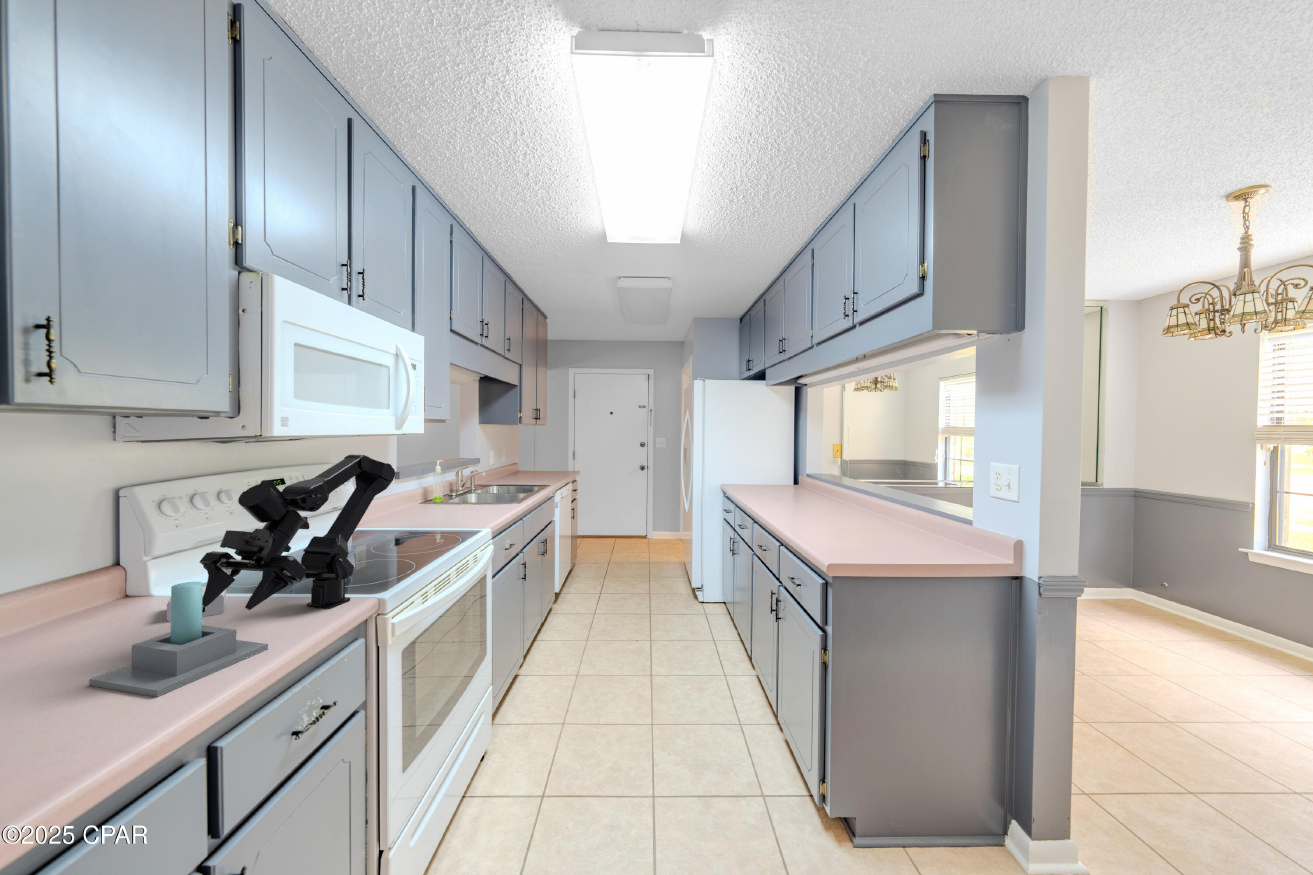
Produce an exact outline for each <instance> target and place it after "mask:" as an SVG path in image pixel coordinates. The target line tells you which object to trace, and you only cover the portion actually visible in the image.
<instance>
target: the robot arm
mask: <svg viewBox="0 0 1313 875" xmlns="http://www.w3.org/2000/svg"><path fill="white" fill-rule="evenodd" d="M395 477H396V471H395V468H393V465H391V463H388V462H387V463H386V462H383V461H379V460H377V459H373V458H372V457H370V456H368V455H365V454H348V455H345V457H344V458H343V459H342V460H340V461H339V462H337V463H336V464H333V465H332V466H330V467H328V469H326V470H324V471H323V472H321V473H319V474H318V475H316V476H315V477H312V478H309V479H305V480H299V481H296V482H294V483H291V484H288V485H287V486H285V487H284V488H283V489H282V490H280V489H279V488H278V487H277V485H276V484H275V483H274V481H273V480H267V479H266V480H265V479H264V480H261V481H260V483H259V484H255V485H253V486H251V487H248V489H246V490H245V491H242V493H241V494H240V495H239V497H238V500H237V503H238V504H239V506H241V507H242V509H244V510H245V511H246V512H247V513H248V515H251V517H252V518H254V519H255V520H256V521H257V522H258V523H261V524H264V526H263V527H262V528H255V529H253V531H245V530H231V529H230V530H229V529H228V530H225V533H224V535H223V538H222V540H221V542H220V546H219V547H220V548H222V549H225V548H227V549H231V550H235V551H234V554H235V555H237V557H240V559H237V558H235V556H233V555H232V554H231V553H230V552H227V551H215V550H212V551H208V552H206V553H205V554H204V555H203V556H202V558H201V559H200V560H199V564H201V565H202V567H203V569H204V570H206V571H207V574H208V575H207V583H206V585H205V586H206V589H205V592H204V595H203V599H202V605H203V606H204V607H206V606H208V605H209V604H210V603H212V602H213V601H214V600H215V599H216V598H217V597H218V596H219V595H220V594H221V593H222V592H223V591H224V590H225V589H226V590H227V589H228V588H229V587H230V586H231V585H232V584H233V583H234V582H235V581H236V578H235V577H236V576H238V575H239V574H240V573H241V571H249V572H250V571H252V572H262V574H261V575H262V576H261V577H262V578H261V580H260V581H259V583H258V584H257V586H256V588H255V589H254V591H253V593H252V594H251V595H250V598H249V599H248V601H247V602H246V605H245V607H244V608H245V609H246V610H247V611H250V610H252V609H254V608H256V607H257V606H258V605H260V604H261V603H263V602H265V600H268V598H270V597H272V596H274V595H275V594H277V593H278V592H280V591H282V590H284V589H285V588H287V587H289V586H293V585H294V584H295V583H301V582H302V580H303V578H305V579H307V580H308V579H312V586H311V588H310V589H311V590H310V591H311V592H310V594H311V595H310V602H307V603H306V606H307V607H315V608H322V609H323V608H324V609H332V608H334V607H335V606H336V607H337V606H338V605H341V604H344V603H346V602H349V601H351V600H350V599H351V597H347V596H346V579H350V577H352V576H353V574H354V570H355V566H354V564H352V562H351V561H350V560H349V559H348V556H349V553H350V552H349V546H348V543H349V541H350V539H351V537H352V536H353V534H354V532H355V531H356V529H357V527H358V526H359V524H360V522H361V521H362V519H363V517H364V516H365V514H366V512H367V510H368V509H369V507H370V505H371V504H372V502H373V500H374V498H375V497H376V496H377V495H379V494H380V493H383V492H385V490H387V489H388V488H389V487H390V485H391V484H392V482H393V481H394V480H395ZM353 478H354V481H355V488H354V490H353V492H352V493H351V495H350V496H349V497H348V499H347V501H346V502H345V504H344V506H343V507H342V508H341V510H340V512H338V515H337V516H336V518H335V520H334V521H333V523H331V524H332V525H331V527H329V530H328V531H327V532H326V534H324V535H323V536H315V535H314V536H313V537H312V538H311V539H310V541H309V543H308V545H307V546H306V547H305V548H304V549H303V550H302V551H303V554H302V556H301V558H300V561H299V560H298V559H297V558H296V557H294V556H293V555H282V554H283V553H290V551H291V550H292V547H291V546H290V545H289V544H291V542H292V540H293V538H294V537H295V536H296V534H297V533H298V531H299V530H309V529H310V523H309V521H308V516H303V515H301V513H300V512H305V513H308V512H309V513H314V512H317V511H319V510H320V509H321V508H322V507H323V506H324V505H325V504H326V503H327V502H328V500H329V498H330V494H331V493H333V492H334V491H335V490H337V489H338V488H340V487H341V486H342V485H344V484H345V483H347V482H348V481H350V480H351V479H353Z"/></svg>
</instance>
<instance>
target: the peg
mask: <svg viewBox="0 0 1313 875" xmlns="http://www.w3.org/2000/svg"><path fill="white" fill-rule="evenodd" d="M202 586H204V585H203V582H202V581H188V582H181V583H176V584H174V585H171V588H170V589H171V591H170V592H171V593H170V594H171V595H170V598H171V622H170V632H171V642H170V644H175V645H183V644H186V643H189V642H192V641H194V640H197V639H200V638H202V625H203V617H202Z"/></svg>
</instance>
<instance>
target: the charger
mask: <svg viewBox="0 0 1313 875" xmlns="http://www.w3.org/2000/svg"><path fill="white" fill-rule="evenodd" d="M205 589H206V585H202V599H203V595H204V592H205ZM226 603H227V588H226V589H225V590H224V591H223V592H222V593H221V594H220V595H219V596H218V597H217V598H216V599H215V600H214V601H213V602H212V603H210V604H209V605H208V606H206V607H204V606H203V605H202V618H206V617H213V616H218V615H221V614H223V613H224V611H225V609H226V608H225V606H226ZM166 621H168V622H170V623H171V597H170V598H169V600H168V602H167V603H166Z"/></svg>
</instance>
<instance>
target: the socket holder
mask: <svg viewBox="0 0 1313 875" xmlns="http://www.w3.org/2000/svg"><path fill="white" fill-rule="evenodd" d="M170 642H171V631H170V632H167V633H163V634H161V635H158V636H154V637H151V638H149V639H146V640H143V641H140V642H137V643H134V644H131V663H130V664H127V665H125V666H122V667H119V668H116V669H114V670H110V671H108V672H105V673H102V674H99V675H96V676H94V677H91V678H89V680H88V682H89V683H88V684H89V686H92V687H98V688H103V689H109V690H114V691H121V692H126V693H132V694H137V695H138V694H139V695H144V696H148V697H149V696H150V697H157V698H158V697H160V696H163V695H166V694H168V693H170V692H172V691H175V690H177V689H178V688H181V687H184V686H186V685H188V684H191V683H193V682H196V681H198V680H200V679H202V678H205V677H207V676H209V675H212V674H214V673H216V672H218V671H221V670H223V669H226V668H228V667H230V666H232V665H236V664H237V663H240V662H242V661H245V660H247V659H248V658H247V657H249V658H250V656H251V657H253V656H252V655H254V654H256V653H258V654H261V653H262V652H261V651H263V652H265V651H267V649H268V650H269V644H268V643H262V642H257V641H256V642H255V641H249V640H243V639H242V640H241V639H237V629H233V628H226V627H219V626H212V625H211V626H210V625H203V624H202V638H200V639H197V640H194V641H192V642H189V643H186V644H183V645H175V644H170ZM264 650H265V651H264ZM260 652H261V653H260ZM256 655H257V654H256ZM254 656H255V655H254ZM246 658H247V659H246ZM239 661H240V662H239Z"/></svg>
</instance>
